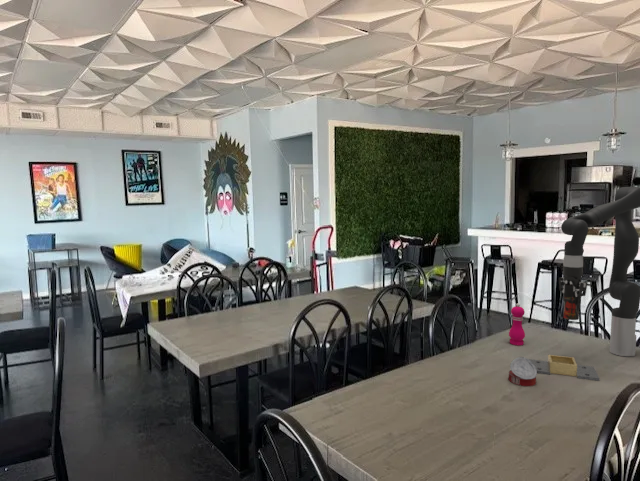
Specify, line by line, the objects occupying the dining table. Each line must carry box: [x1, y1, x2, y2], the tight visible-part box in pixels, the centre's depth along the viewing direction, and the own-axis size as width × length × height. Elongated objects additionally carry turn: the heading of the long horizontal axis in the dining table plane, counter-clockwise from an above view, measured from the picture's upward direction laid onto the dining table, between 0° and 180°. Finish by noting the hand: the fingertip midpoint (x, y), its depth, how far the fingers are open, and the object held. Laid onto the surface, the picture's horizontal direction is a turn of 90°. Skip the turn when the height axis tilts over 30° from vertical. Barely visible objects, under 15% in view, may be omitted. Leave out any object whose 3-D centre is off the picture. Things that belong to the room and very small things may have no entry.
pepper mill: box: [508, 303, 526, 347], centre depth 221 cm, size 7×7×20 cm
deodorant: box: [562, 284, 580, 321], centre depth 199 cm, size 6×6×15 cm
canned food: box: [508, 356, 538, 387], centre depth 178 cm, size 11×10×10 cm
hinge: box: [528, 354, 600, 382], centre depth 188 cm, size 25×13×4 cm, turn 68°
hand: (571, 303), depth 199 cm, fingers closed on deodorant, 6 cm apart
